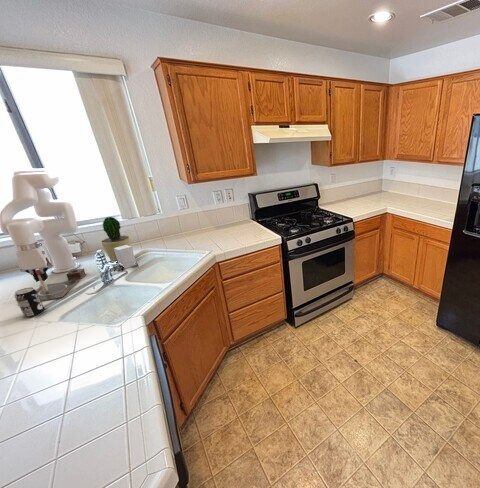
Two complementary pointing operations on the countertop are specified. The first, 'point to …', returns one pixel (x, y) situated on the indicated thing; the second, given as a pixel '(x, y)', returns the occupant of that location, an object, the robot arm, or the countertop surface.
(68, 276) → the pen holder
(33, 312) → the beverage can
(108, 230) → the potted cactus
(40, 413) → the countertop surface
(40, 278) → the marker
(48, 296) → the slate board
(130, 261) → the white packaging box
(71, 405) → the countertop surface
